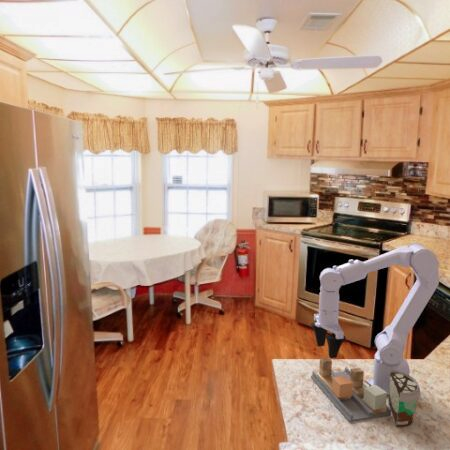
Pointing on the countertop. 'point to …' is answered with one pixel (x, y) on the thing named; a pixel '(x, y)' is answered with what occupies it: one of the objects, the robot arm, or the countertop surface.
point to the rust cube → (342, 386)
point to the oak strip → (329, 384)
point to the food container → (402, 397)
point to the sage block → (375, 397)
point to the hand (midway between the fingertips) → (326, 351)
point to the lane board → (349, 401)
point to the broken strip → (361, 387)
